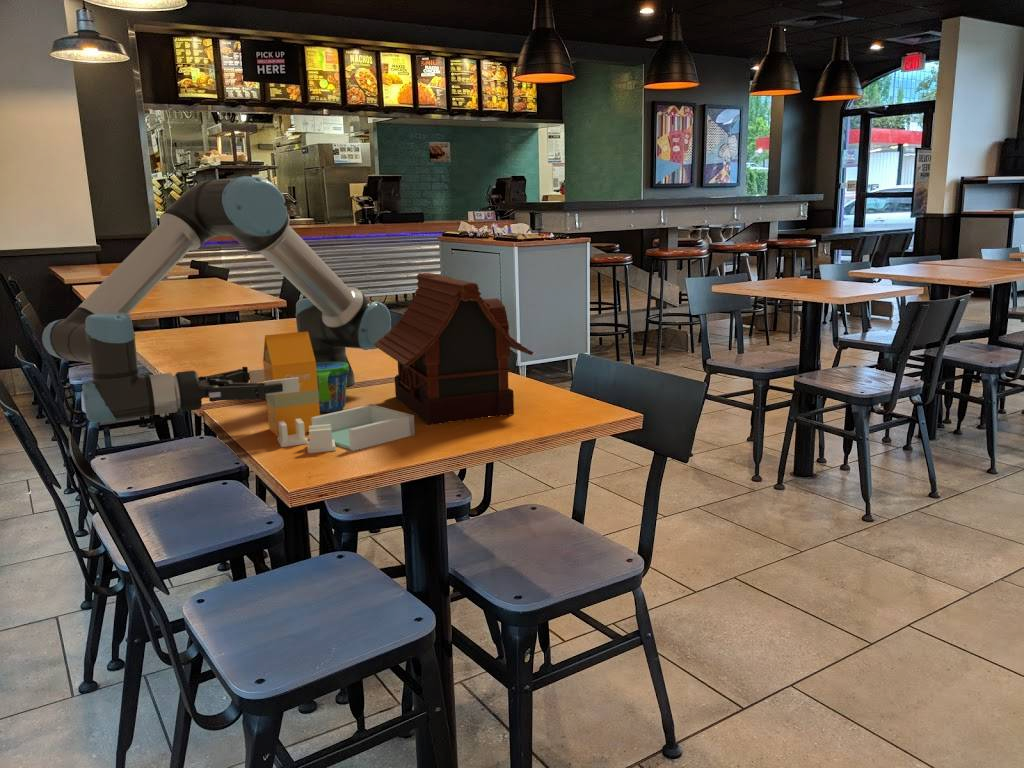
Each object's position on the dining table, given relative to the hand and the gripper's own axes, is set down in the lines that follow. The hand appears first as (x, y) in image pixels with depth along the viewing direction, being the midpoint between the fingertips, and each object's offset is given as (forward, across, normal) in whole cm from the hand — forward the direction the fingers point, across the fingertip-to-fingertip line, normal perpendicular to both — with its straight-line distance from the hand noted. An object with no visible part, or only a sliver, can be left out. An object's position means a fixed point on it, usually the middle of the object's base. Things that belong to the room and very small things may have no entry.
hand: (290, 378), depth 157 cm
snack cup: (+11, -14, -11) cm, 21 cm away
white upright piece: (+1, +16, -11) cm, 19 cm away
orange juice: (0, 0, -11) cm, 11 cm away
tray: (+10, +13, -11) cm, 19 cm away
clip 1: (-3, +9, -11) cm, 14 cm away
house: (+36, -2, -11) cm, 38 cm away
